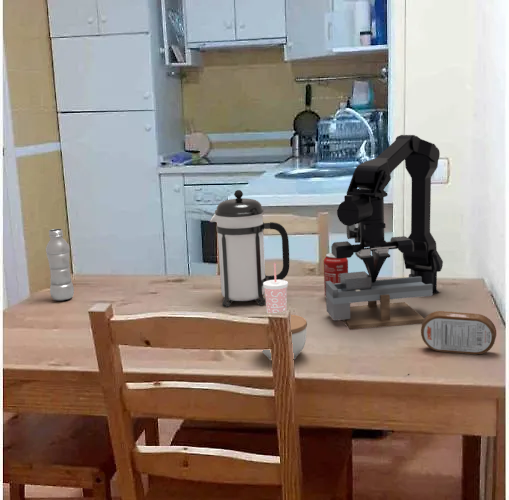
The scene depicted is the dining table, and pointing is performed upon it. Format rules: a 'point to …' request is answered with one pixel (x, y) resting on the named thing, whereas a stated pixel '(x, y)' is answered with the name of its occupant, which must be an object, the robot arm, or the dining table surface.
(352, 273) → the block
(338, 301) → the beam
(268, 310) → the beverage cup
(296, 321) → the lidded jar
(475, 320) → the tin
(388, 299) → the stand
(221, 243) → the coffee press
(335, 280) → the beverage can
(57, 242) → the plastic bottle
